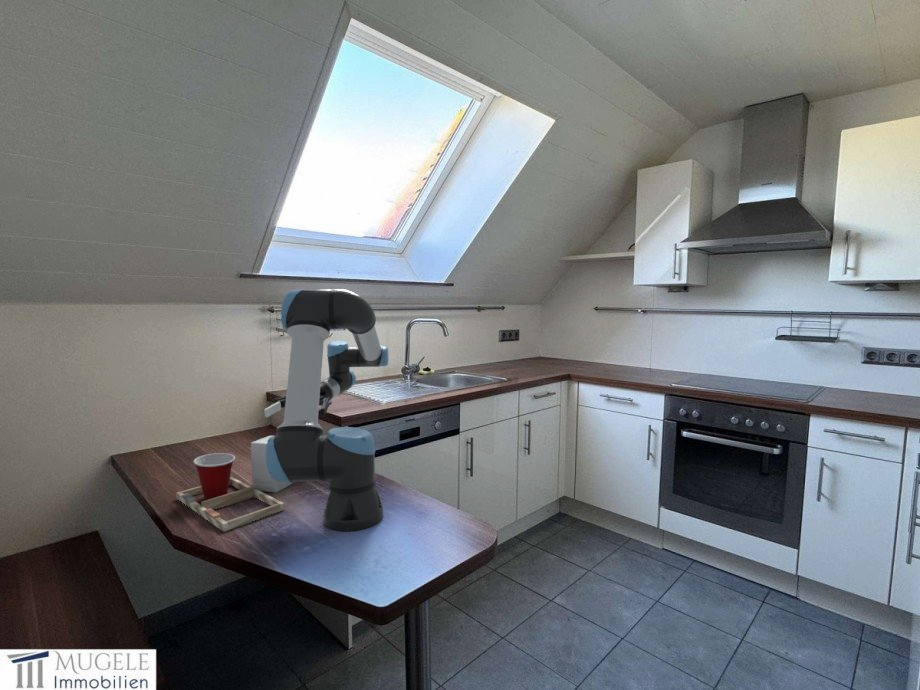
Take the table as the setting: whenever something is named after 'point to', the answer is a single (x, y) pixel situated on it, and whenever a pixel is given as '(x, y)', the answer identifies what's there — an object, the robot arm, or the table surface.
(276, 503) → the wooden frame
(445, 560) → the table surface
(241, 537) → the table surface
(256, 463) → the supplement box
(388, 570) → the table surface
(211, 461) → the plastic cup
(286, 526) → the table surface
